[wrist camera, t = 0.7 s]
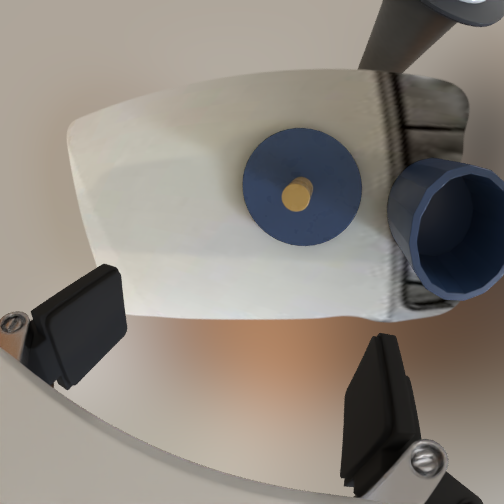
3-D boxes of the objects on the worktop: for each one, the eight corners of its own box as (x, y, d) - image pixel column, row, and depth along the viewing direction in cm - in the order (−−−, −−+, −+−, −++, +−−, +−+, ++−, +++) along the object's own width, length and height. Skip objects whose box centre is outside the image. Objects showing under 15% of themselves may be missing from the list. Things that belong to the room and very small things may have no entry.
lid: (245, 128, 29) (223, 124, 23) (363, 133, 26) (373, 129, 20) (245, 237, 33) (226, 259, 27) (354, 247, 30) (360, 272, 24)
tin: (391, 150, 26) (418, 154, 17) (480, 168, 23) (527, 181, 14) (380, 254, 30) (397, 296, 21) (464, 263, 27) (499, 302, 19)
